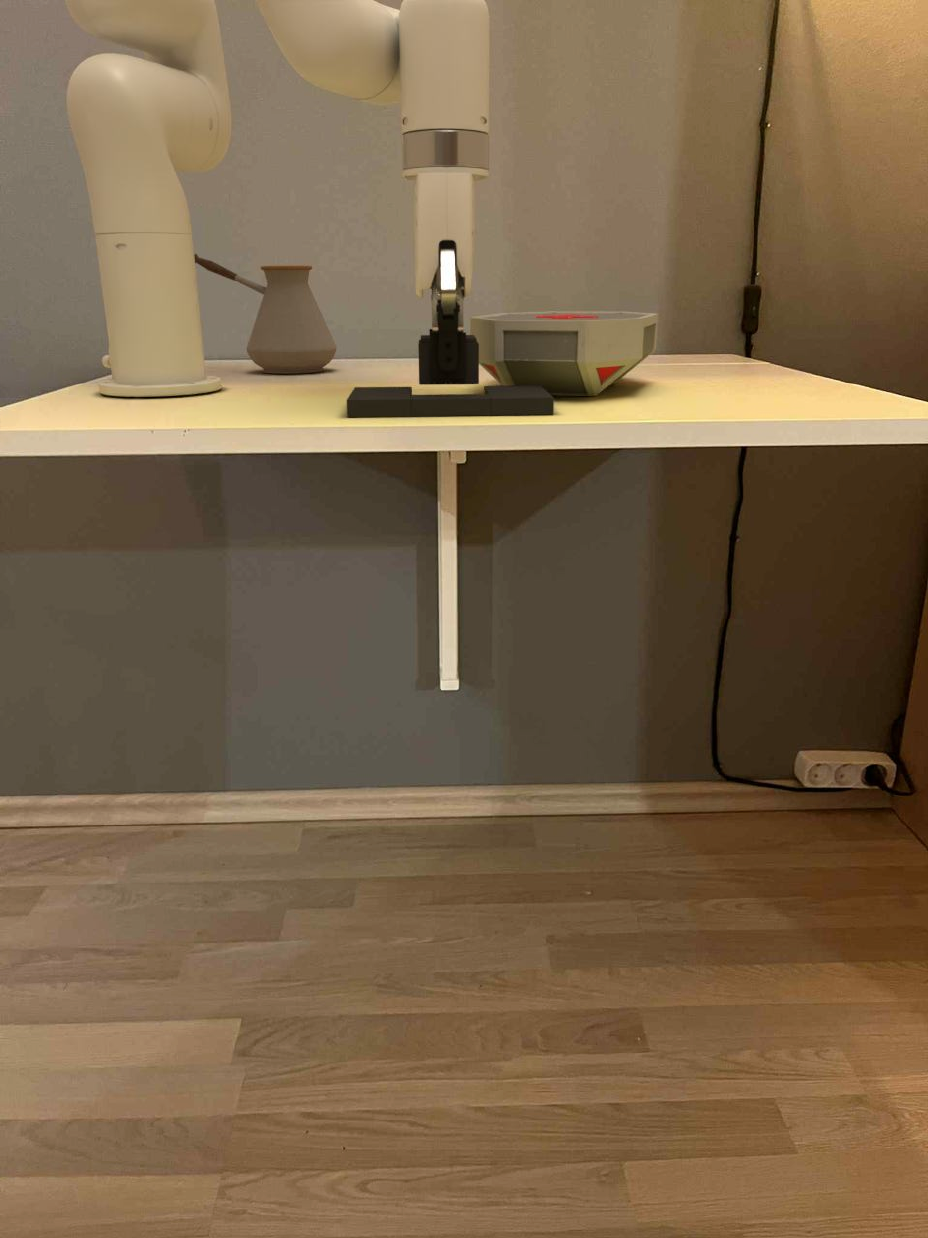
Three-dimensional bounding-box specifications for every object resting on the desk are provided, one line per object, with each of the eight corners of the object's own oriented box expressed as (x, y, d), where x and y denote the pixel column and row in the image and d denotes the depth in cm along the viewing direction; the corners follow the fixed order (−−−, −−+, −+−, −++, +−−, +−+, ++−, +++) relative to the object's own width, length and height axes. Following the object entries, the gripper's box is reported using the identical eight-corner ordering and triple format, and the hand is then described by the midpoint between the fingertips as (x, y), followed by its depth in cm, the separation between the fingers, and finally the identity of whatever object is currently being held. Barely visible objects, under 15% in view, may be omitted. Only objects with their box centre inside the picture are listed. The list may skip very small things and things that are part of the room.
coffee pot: (351, 368, 127) (345, 247, 122) (315, 376, 117) (307, 245, 112) (209, 365, 133) (198, 250, 128) (163, 373, 122) (149, 248, 117)
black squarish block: (419, 384, 86) (418, 338, 84) (419, 378, 91) (418, 334, 89) (478, 384, 86) (478, 338, 85) (475, 378, 91) (475, 334, 90)
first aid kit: (629, 405, 89) (660, 378, 111) (634, 321, 86) (664, 311, 109) (451, 399, 94) (515, 375, 116) (450, 319, 91) (516, 311, 114)
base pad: (347, 417, 82) (346, 399, 82) (355, 402, 92) (354, 387, 91) (553, 414, 83) (553, 397, 83) (540, 400, 92) (540, 384, 92)
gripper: (404, 170, 90) (408, 367, 96) (399, 147, 74) (405, 386, 80) (483, 170, 90) (482, 367, 96) (495, 147, 74) (494, 385, 80)
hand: (447, 373), depth 88 cm, fingers closed on black squarish block, 5 cm apart
